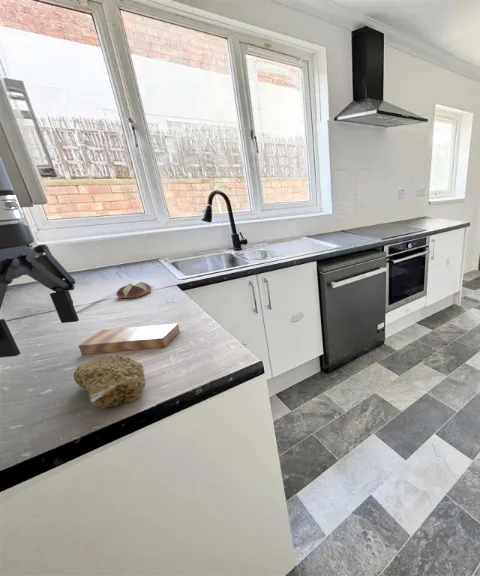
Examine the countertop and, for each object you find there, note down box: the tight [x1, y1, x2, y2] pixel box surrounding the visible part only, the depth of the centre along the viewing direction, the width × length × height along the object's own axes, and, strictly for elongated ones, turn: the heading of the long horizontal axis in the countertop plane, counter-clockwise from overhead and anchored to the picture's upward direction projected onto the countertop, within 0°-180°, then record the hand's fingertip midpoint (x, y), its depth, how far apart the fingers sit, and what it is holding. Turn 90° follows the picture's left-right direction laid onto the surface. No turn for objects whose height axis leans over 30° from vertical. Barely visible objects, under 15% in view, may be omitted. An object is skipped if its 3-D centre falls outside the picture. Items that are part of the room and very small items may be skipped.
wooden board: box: [77, 323, 181, 355], centre depth 95 cm, size 22×10×3 cm, turn 100°
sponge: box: [73, 354, 146, 410], centre depth 73 cm, size 13×8×20 cm
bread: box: [116, 281, 152, 299], centre depth 135 cm, size 11×11×5 cm
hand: (43, 337), depth 58 cm, fingers open, 13 cm apart
